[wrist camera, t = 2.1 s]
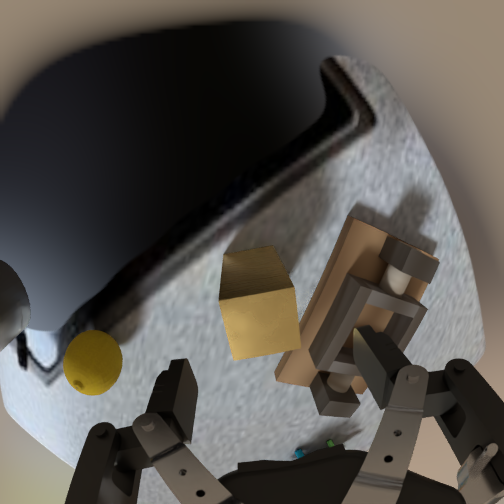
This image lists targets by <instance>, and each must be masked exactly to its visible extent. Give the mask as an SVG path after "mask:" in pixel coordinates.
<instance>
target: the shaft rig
mask: <svg viewBox="0 0 504 504" xmlns="http://www.w3.org/2000/svg"><path fill="white" fill-rule="evenodd" d="M439 263H440V262H439V259H437V258H436V257H434V256H432V255H430V254H428V253H426V252H424V251H422V250H420V249H418V248H416V247H414V246H412V245H410V244H408V243H406V242H404V241H402V240H400V239H398V238H396V237H394V236H392V235H390V234H388V233H385V232H383V231H381V230H379V229H377V228H375V227H373V226H370V225H368V224H366V223H364V222H362V221H359V220H357V219H355V218H353V217H350V216H347V218H346V221H345V223H344V225H343V228H342V230H341V233H340V235H339V238H338V240H337V242H336V245H335V247H334V249H333V252H332V254H331V256H330V259H329V261H328V263H327V265H326V268H325V270H324V272H323V274H322V277H321V279H320V281H319V283H318V285H317V288H316V290H315V292H314V294H313V296H312V298H311V300H310V303H309V305H308V307H307V309H306V311H305V313H304V315H303V317H302V319H301V321H300V323H299V331H300V340H301V348H300V349H295V350H290V351H285V353H284V355H283V357H282V359H281V360H280V362H279V364H278V366H277V368H276V370H275V372H274V373H275V378H276V381H278V382H283V383H289V384H294V385H300V386H305V387H310V389H311V392H312V395H313V398H314V401H315V404H316V407H317V409H318V412H319V415H323V416H334V417H349V418H350V417H351V416H352V415H353V413H354V412H355V411H356V409H357V408H358V407H359V406H360V402H359V400H358V398H357V396H356V394H363V393H364V391H365V390H366V389H367V387H368V386H367V384H366V382H365V381H364V379H363V377H362V375H361V373H360V372H359V370H358V368H357V366H356V364H355V361H354V357H353V332H354V328H358V327H361V326H365V325H370V326H371V327H372V328H373V330H374V331H375V332H376V333H377V332H383V333H385V334H386V335H388V336H389V337H390V338H391V339H392V340H393V341H394V343H395V344H396V345H397V346H398V348H399V349H400V350H401V351H402V352H404V350H405V348H406V347H407V345H408V344H409V342H410V340H411V339H412V337H413V335H414V333H415V332H416V330H417V328H418V326H419V325H420V323H421V321H422V319H423V317H424V315H425V314H426V312H427V310H428V309H427V308H426V307H425V306H423V305H422V304H421V303H420V302H419V301H420V299H421V297H422V295H423V293H424V291H425V289H426V287H427V285H428V283H429V284H430V283H431V281H432V279H433V277H434V274H435V272H436V270H437V268H438V265H439ZM355 393H356V394H355Z"/></svg>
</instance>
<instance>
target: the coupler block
mask: <svg viewBox="0 0 504 504" xmlns="http://www.w3.org/2000/svg"><path fill="white" fill-rule="evenodd" d="M219 305H220V309H221V313H222V317H223V321H224V325H225V329H226V333H227V337H228V341H229V345H230V348H231V352H232V356H233V360H241V359H247V358H253V357H259V356H264V355H270V354H275V353H280V352H285V351H290V350H295V349H300V348H301V340H300V331H299V322H298V313H297V304H296V296H295V288H294V285H293V283H292V281H291V279H290V277H289V276H288V274H287V272H286V270H285V268H284V266H283V264H282V262H281V260H280V258H279V256H278V254H277V252H276V251H275V249H274V247H273V245H272V246H267V247H261V248H256V249H250V250H245V251H239V252H234V253H228V254H223V263H222V272H221V282H220V291H219Z"/></svg>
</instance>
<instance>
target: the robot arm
mask: <svg viewBox="0 0 504 504" xmlns="http://www.w3.org/2000/svg"><path fill="white" fill-rule="evenodd" d="M30 315H31V310H30V303H29V299H28V295H27V293H26V290H25V287H24V286H23V283H22V282H21V280H20V278H19V277H18V275H17V273H16V272H15V271H14V270H13V269H12V268H11V267H10V266H9V265H8V264H7V263H5V262H3V261H2V260H0V352H1V351H2V350H3V349H4V348H5V347H6V346H7V345H8V344H9V343H10V342H11V341H12V340H13V339H14V338H15V337H16V336H17V335H18V334H19V333H21V332H22V331H23V330H24V329H25V328H26V327H27V325H28V324H29V321H30ZM353 357H354V361H355V364H356V366H357V368H358V370H359V372H360V373H361V375H362V377H363V379H364V381H365V382H366V384H367V386H368V388H369V390H370V392H371V393H372V395H373V397H374V399H375V401H376V403H377V404H378V406H379V408H380V410H382V409H385V408H386V409H385V411H384V414H383V417H382V420H381V422H380V425H379V428H378V430H377V433H376V435H375V438H374V440H373V442H372V445H371V447H370V449H369V452H365V451H361V450H345V448H344V445H343V444H340V445H336V446H332V447H328V448H324V449H320V450H317V451H314V452H312V453H310V454H308V455H305V456H303V457H301V458H298V459H296V460H293V461H273V460H259V461H251V462H241V463H238V470H235V471H232V472H230V473H227V474H225V475H224V476H222V477H220V478H219V479H216V478H215V477H214V476H213V475H212V474H211V473H210V472H209V471H208V470H207V469H206V468H205V467H204V466H203V465H202V463H201V462H200V461H199V460H198V459H197V458H196V457H195V456H194V454H193V453H192V452H191V451H190V450H189V449H188V448H187V446H186V445H185V444H191V440H192V433H193V425H194V418H195V411H196V404H197V397H198V386H197V382H196V379H195V376H194V374H193V371H192V369H191V366H190V363H189V361H188V359H187V358H185V359H175V360H171V362H170V366H169V369H168V370H164V371H162V372H161V374H160V375H159V376H158V377H157V379H156V382H155V386H154V388H153V393H152V394H151V397H150V400H149V403H148V406H147V409H146V412H145V413H144V414H142V415H140V416H138V417H137V418H136V419H135V420H134V422H133V424H132V426H128V427H124V428H119V429H116V428H115V427H114V426H113V425H112V424H111V423H108V422H102V423H98V424H96V425H95V426H93V427H92V428H91V429H90V431H89V433H88V436H87V438H86V441H85V444H84V447H83V449H82V452H81V455H80V458H79V460H78V463H77V466H76V469H75V472H74V475H73V478H72V481H71V484H70V488H69V491H68V494H67V497H66V501H65V504H137V498H138V491H139V485H140V479H141V473H142V469H144V468H149V467H153V466H154V467H155V468H156V470H157V471H158V473H159V474H160V476H161V477H162V479H163V480H164V481H165V483H166V484H167V486H168V487H169V488H170V490H171V491H172V492H173V494H174V495H175V496H176V498H177V499H178V500H179V501H180V503H181V504H495V503H497V502H498V501H499V500H500V499H501V498H503V497H504V402H503V401H502V400H501V398H500V397H499V396H498V395H497V394H496V392H495V391H494V390H493V389H492V388H491V386H490V385H489V384H488V383H487V382H486V380H485V379H484V378H483V377H482V376H481V375H480V373H479V372H478V371H477V370H476V369H475V368H474V366H473V365H472V364H471V363H470V362H469V361H467V360H465V359H453V360H451V361H449V362H448V363H447V364H446V366H445V370H440V371H433V372H428V371H427V370H426V369H425V368H424V367H422V366H419V365H412V364H411V362H410V361H409V360H408V359H407V357H406V356H405V355H404V354H403V352H402V351H401V350H400V349H399V348H398V346H397V345H396V344H395V343H394V341H393V340H392V339H391V338H390V337H389V336H388V335H386V334H385V333H383V332H377V333H376V332H375V331H374V330H373V328H372V327H371V326H370V325H365V326H361V327H358V328H354V332H353ZM431 416H434V418H435V419H436V421H437V423H438V425H439V426H440V428H441V430H442V432H443V434H444V435H445V437H446V439H447V441H448V443H449V444H450V446H451V448H452V450H453V452H454V454H455V455H456V457H457V459H458V461H459V463H460V465H461V467H460V469H459V470H458V473H457V481H458V490H457V489H455V488H454V487H451V486H449V485H446V484H443V483H440V482H438V481H435V480H432V479H429V478H427V477H424V476H422V475H419V474H417V473H414V472H412V471H410V470H408V466H409V464H410V460H411V457H412V454H413V450H414V447H415V444H416V440H417V436H418V432H419V428H420V424H421V420H422V418H425V417H431Z"/></svg>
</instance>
